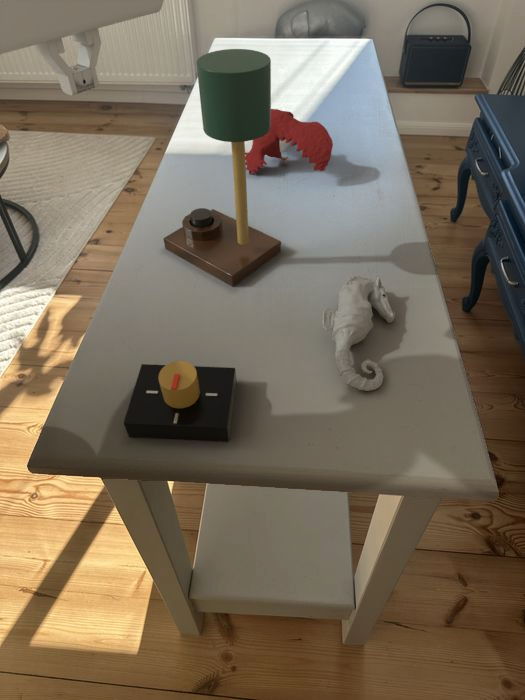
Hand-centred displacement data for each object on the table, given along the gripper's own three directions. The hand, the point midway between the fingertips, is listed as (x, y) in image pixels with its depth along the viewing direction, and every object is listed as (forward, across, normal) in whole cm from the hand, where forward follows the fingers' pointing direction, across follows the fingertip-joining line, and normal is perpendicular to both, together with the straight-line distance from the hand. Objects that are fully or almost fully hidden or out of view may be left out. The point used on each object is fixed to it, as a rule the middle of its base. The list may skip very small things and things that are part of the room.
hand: (81, 90), depth 44 cm
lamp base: (+33, +22, +6) cm, 40 cm away
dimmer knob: (+30, -5, -13) cm, 33 cm away
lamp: (+29, +22, +1) cm, 36 cm away
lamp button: (+29, +22, +11) cm, 38 cm away
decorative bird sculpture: (+33, +51, +20) cm, 64 cm away
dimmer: (+33, -5, -13) cm, 36 cm away
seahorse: (+33, +19, -23) cm, 45 cm away
